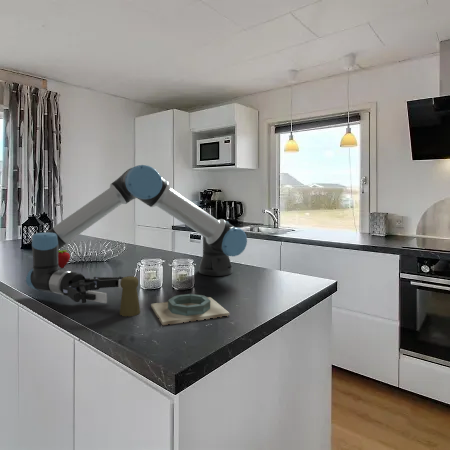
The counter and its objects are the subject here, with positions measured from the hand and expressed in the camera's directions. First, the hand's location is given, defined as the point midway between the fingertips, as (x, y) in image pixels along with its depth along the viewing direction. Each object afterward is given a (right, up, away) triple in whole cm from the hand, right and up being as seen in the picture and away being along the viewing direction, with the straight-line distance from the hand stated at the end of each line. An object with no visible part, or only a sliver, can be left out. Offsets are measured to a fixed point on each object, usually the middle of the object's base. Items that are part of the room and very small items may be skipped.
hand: (121, 291), depth 103 cm
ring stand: (+20, -6, +2) cm, 21 cm away
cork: (+2, -7, 0) cm, 7 cm away
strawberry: (-44, 0, +55) cm, 71 cm away
